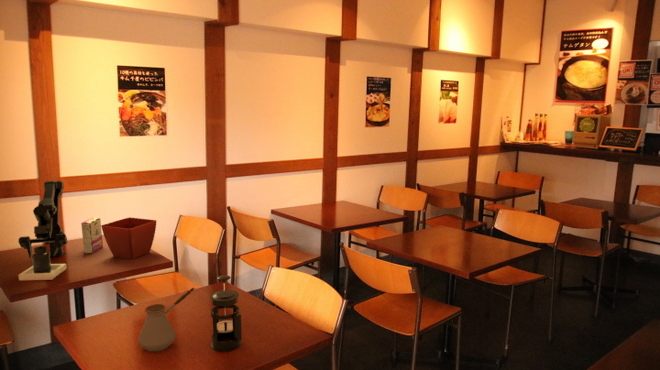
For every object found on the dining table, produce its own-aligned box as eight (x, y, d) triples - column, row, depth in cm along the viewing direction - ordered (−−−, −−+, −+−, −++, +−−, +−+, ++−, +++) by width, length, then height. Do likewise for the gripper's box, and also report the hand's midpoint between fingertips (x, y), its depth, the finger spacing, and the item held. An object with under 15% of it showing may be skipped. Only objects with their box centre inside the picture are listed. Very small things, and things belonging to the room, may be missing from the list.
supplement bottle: (54, 272, 221) (51, 247, 219) (38, 276, 216) (35, 250, 214) (47, 269, 225) (44, 244, 223) (31, 273, 220) (28, 247, 218)
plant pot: (102, 257, 245) (99, 225, 242) (131, 247, 262) (129, 216, 259) (131, 262, 237) (129, 229, 235) (159, 251, 255) (157, 220, 252)
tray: (35, 269, 227) (34, 264, 226) (66, 268, 228) (66, 263, 228) (19, 280, 213) (18, 274, 213) (52, 279, 214) (51, 274, 214)
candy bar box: (94, 247, 262) (91, 217, 259) (103, 247, 262) (100, 217, 259) (83, 253, 251) (80, 222, 248) (92, 253, 251) (90, 222, 248)
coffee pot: (152, 358, 149) (149, 312, 146) (131, 347, 155) (128, 302, 153) (208, 332, 166) (206, 290, 163) (186, 323, 172) (184, 283, 170)
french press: (203, 345, 157) (200, 277, 153) (225, 334, 164) (223, 269, 160) (229, 356, 150) (226, 285, 146) (250, 344, 157) (249, 276, 154)
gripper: (17, 219, 218) (13, 250, 210) (63, 216, 224) (61, 246, 216) (23, 232, 227) (19, 262, 219) (68, 228, 233) (66, 258, 225)
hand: (41, 257), depth 219 cm, fingers open, 9 cm apart
